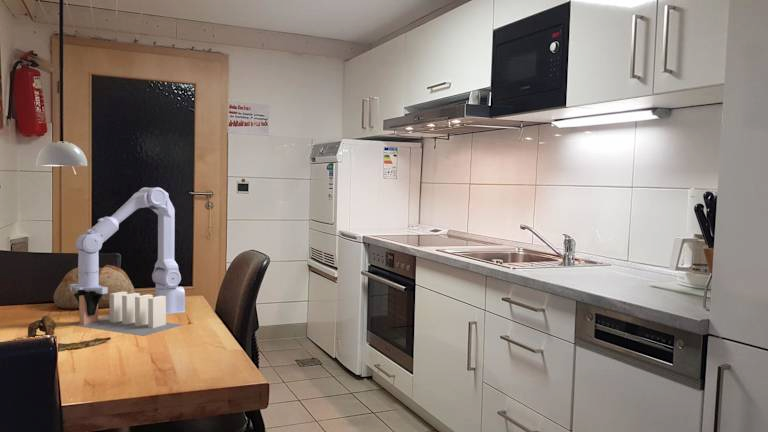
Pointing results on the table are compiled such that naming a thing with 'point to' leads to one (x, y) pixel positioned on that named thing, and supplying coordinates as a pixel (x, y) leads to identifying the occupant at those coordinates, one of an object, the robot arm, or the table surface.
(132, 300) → the domino
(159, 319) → the domino
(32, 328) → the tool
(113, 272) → the bread
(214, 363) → the table surface
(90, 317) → the domino
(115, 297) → the domino
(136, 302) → the domino
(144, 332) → the mat
